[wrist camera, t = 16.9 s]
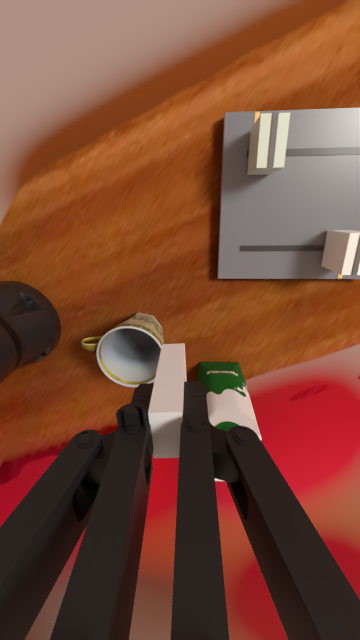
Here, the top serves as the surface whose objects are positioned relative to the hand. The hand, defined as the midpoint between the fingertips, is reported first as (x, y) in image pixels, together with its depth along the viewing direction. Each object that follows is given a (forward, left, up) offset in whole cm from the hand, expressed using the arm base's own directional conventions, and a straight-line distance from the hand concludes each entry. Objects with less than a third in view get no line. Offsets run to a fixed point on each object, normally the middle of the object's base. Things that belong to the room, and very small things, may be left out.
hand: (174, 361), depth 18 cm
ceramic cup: (-9, -10, -27) cm, 30 cm away
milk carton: (+6, -20, -27) cm, 34 cm away
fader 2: (+21, +4, -25) cm, 33 cm away
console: (+16, +10, -27) cm, 33 cm away
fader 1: (+9, +16, -25) cm, 31 cm away
